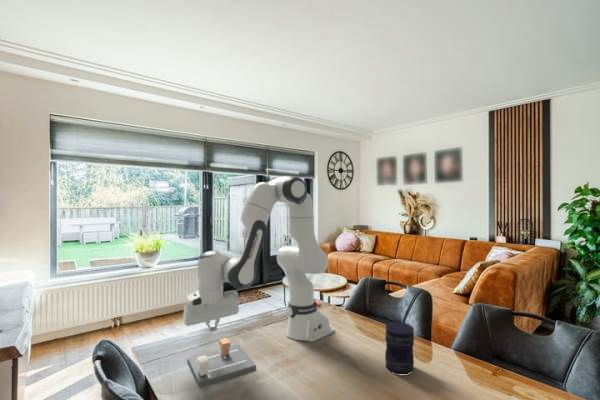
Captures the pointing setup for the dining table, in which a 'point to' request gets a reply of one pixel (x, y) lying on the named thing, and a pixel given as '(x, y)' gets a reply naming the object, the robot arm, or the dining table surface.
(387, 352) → the storage jar
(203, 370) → the cream fader
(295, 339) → the robot arm
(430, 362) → the dining table surface
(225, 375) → the console
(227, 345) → the terracotta fader
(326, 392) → the dining table surface
